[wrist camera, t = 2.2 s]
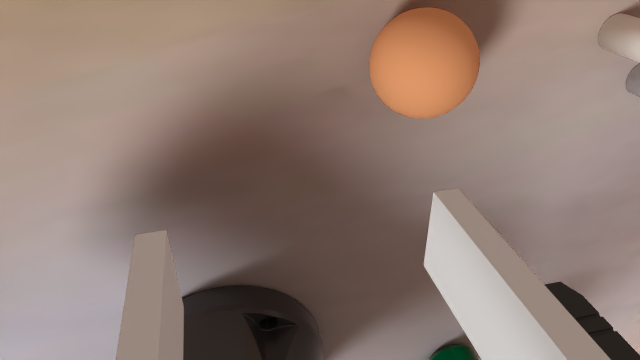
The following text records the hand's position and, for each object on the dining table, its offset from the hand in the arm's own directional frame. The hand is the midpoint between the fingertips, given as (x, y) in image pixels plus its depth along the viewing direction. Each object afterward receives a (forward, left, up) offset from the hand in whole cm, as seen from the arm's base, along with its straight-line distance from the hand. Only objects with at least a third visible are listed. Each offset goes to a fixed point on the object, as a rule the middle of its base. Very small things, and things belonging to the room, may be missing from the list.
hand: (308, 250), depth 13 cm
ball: (-2, -9, -14) cm, 17 cm away
